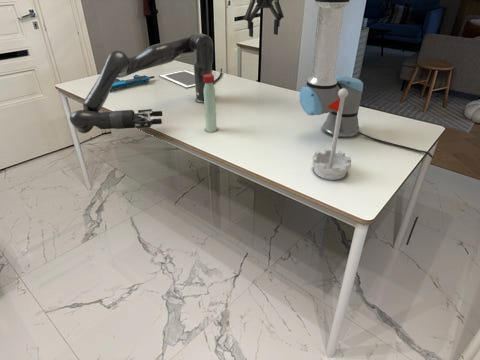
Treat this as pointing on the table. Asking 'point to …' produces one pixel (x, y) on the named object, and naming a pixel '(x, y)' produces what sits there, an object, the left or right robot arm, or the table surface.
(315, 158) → the flag stand
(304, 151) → the table surface
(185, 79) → the tablet
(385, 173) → the table surface
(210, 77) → the cap
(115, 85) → the submachine gun
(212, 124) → the bottle
